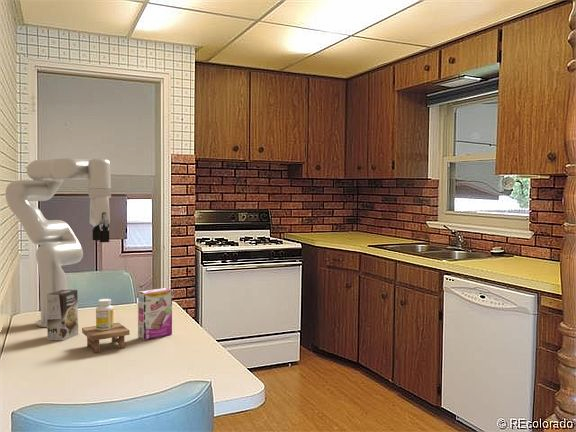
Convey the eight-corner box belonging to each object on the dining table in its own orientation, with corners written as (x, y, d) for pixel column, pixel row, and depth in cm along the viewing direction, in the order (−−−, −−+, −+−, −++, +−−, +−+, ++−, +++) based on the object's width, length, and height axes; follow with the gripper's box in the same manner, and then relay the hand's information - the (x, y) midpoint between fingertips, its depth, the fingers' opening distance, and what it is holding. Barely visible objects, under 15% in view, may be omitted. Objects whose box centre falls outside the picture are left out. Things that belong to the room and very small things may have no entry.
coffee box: (63, 341, 179) (62, 294, 178) (46, 340, 181) (45, 293, 180) (79, 334, 188) (78, 289, 187) (63, 333, 189) (62, 288, 189)
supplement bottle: (101, 332, 168) (101, 302, 168) (93, 329, 172) (92, 300, 171) (116, 328, 172) (116, 299, 172) (107, 325, 176) (107, 297, 175)
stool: (82, 345, 174) (82, 327, 173) (118, 339, 180) (118, 322, 180) (91, 355, 164) (91, 336, 163) (129, 348, 170) (129, 330, 170)
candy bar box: (144, 341, 179) (144, 293, 178) (137, 338, 182) (136, 291, 182) (173, 334, 187) (172, 289, 186) (165, 332, 190) (165, 287, 190)
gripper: (83, 193, 193) (84, 239, 193) (95, 193, 178) (96, 243, 179) (104, 193, 197) (105, 238, 198) (117, 193, 183) (118, 242, 183)
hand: (100, 241), depth 188 cm, fingers open, 9 cm apart
